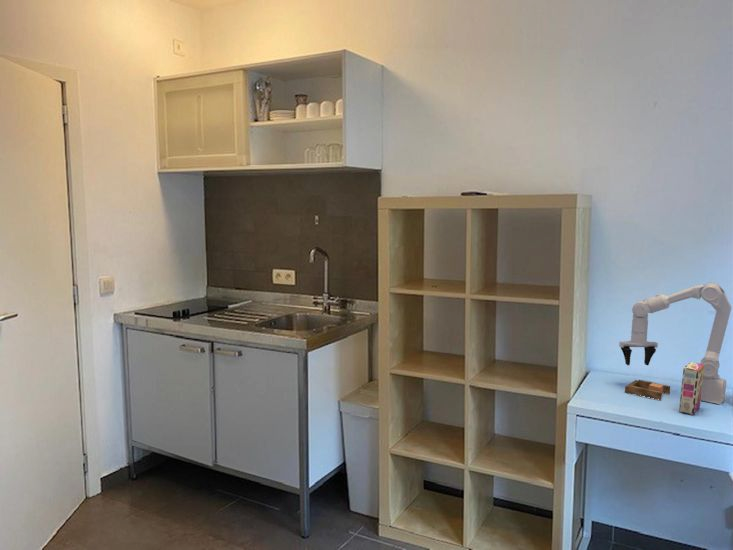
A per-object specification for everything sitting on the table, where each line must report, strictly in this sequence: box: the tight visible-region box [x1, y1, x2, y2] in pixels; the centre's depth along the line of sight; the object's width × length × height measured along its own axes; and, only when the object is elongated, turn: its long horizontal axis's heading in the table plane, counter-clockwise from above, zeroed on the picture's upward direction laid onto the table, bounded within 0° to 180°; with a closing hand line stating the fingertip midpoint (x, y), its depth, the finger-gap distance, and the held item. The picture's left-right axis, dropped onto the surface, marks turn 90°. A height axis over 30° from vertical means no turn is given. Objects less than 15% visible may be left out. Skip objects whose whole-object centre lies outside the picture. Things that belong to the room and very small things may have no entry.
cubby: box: [624, 379, 671, 401], centre depth 231 cm, size 13×11×3 cm
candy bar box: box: [678, 361, 704, 416], centre depth 213 cm, size 11×5×16 cm, turn 141°
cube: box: [649, 382, 664, 394], centre depth 229 cm, size 4×4×4 cm
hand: (637, 364), depth 238 cm, fingers open, 7 cm apart
